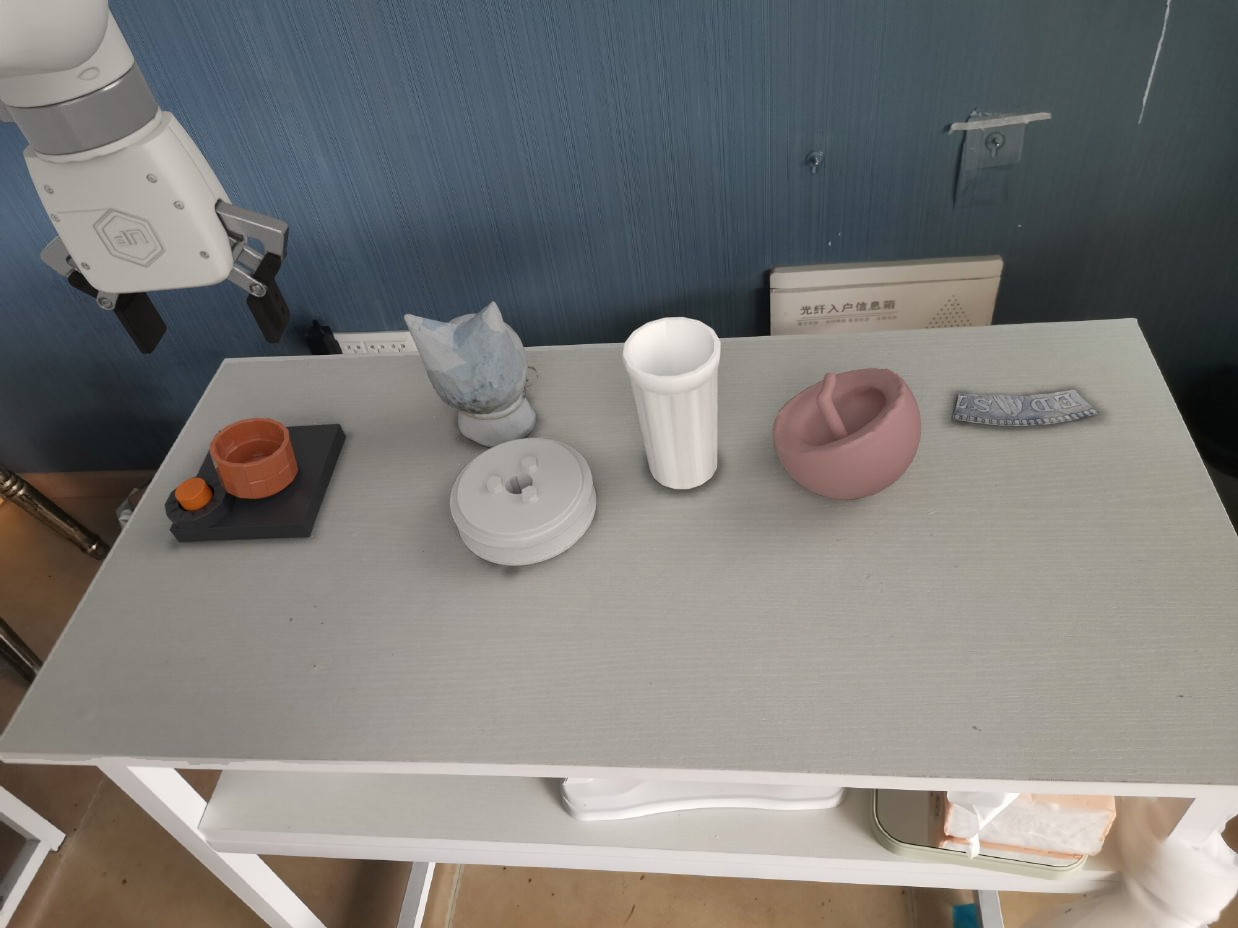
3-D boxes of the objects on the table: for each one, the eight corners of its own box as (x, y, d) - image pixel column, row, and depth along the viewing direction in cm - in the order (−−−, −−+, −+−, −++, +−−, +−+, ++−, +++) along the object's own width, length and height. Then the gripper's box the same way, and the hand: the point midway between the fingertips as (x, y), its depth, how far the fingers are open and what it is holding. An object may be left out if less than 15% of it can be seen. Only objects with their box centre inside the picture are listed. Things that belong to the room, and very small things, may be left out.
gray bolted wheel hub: (436, 509, 82) (421, 473, 78) (551, 443, 86) (541, 406, 82) (502, 597, 74) (489, 561, 71) (625, 520, 78) (618, 483, 74)
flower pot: (285, 504, 82) (273, 468, 79) (211, 500, 82) (197, 464, 79) (308, 455, 87) (299, 420, 84) (238, 451, 87) (226, 415, 84)
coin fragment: (1089, 389, 82) (1090, 386, 81) (1104, 425, 78) (1106, 422, 78) (946, 395, 84) (946, 391, 83) (955, 430, 80) (956, 427, 80)
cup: (645, 506, 79) (626, 388, 69) (635, 442, 85) (616, 324, 74) (735, 492, 79) (729, 371, 68) (719, 429, 84) (712, 309, 74)
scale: (308, 540, 81) (293, 515, 79) (174, 545, 83) (155, 522, 81) (346, 436, 90) (333, 411, 88) (224, 443, 92) (208, 419, 90)
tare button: (206, 510, 81) (198, 499, 80) (178, 511, 82) (169, 500, 80) (217, 487, 83) (209, 476, 82) (189, 488, 84) (181, 477, 82)
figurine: (557, 394, 91) (527, 273, 80) (520, 458, 85) (483, 336, 74) (473, 381, 94) (433, 262, 83) (432, 441, 88) (384, 322, 77)
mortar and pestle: (805, 413, 84) (809, 317, 76) (931, 451, 79) (949, 352, 71) (750, 500, 78) (748, 406, 70) (883, 547, 73) (898, 452, 64)
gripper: (-80, 155, 51) (85, 379, 63) (200, 124, 49) (315, 361, 61) (-12, 98, 56) (129, 315, 69) (245, 67, 54) (342, 296, 66)
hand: (217, 337), depth 65 cm, fingers open, 9 cm apart
